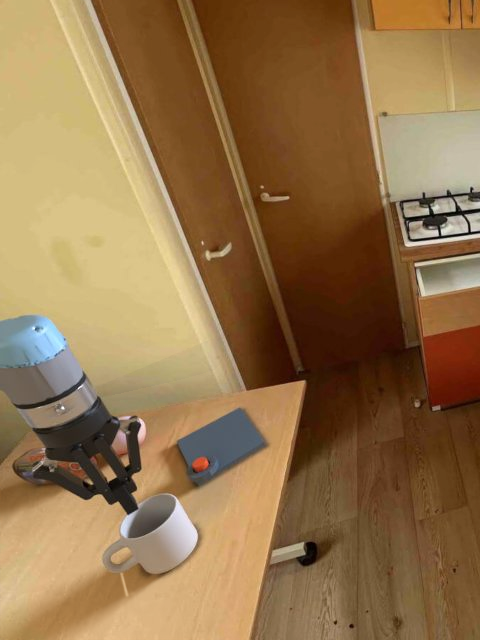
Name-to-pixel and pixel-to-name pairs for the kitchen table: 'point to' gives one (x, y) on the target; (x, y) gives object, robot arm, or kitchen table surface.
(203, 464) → the scale button
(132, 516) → the mug
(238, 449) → the scale
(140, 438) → the decorative fruit
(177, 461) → the kitchen table surface
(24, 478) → the tin
